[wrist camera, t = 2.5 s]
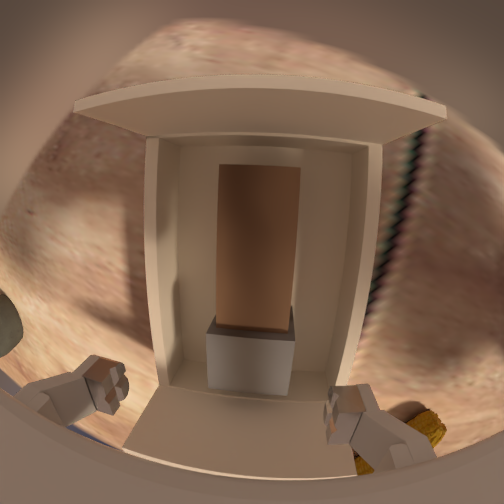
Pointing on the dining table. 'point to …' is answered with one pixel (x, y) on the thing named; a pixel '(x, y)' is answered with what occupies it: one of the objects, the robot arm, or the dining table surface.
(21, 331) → the bottle
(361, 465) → the food
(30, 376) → the dining table surface
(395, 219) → the dining table surface
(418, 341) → the dining table surface
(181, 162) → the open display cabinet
